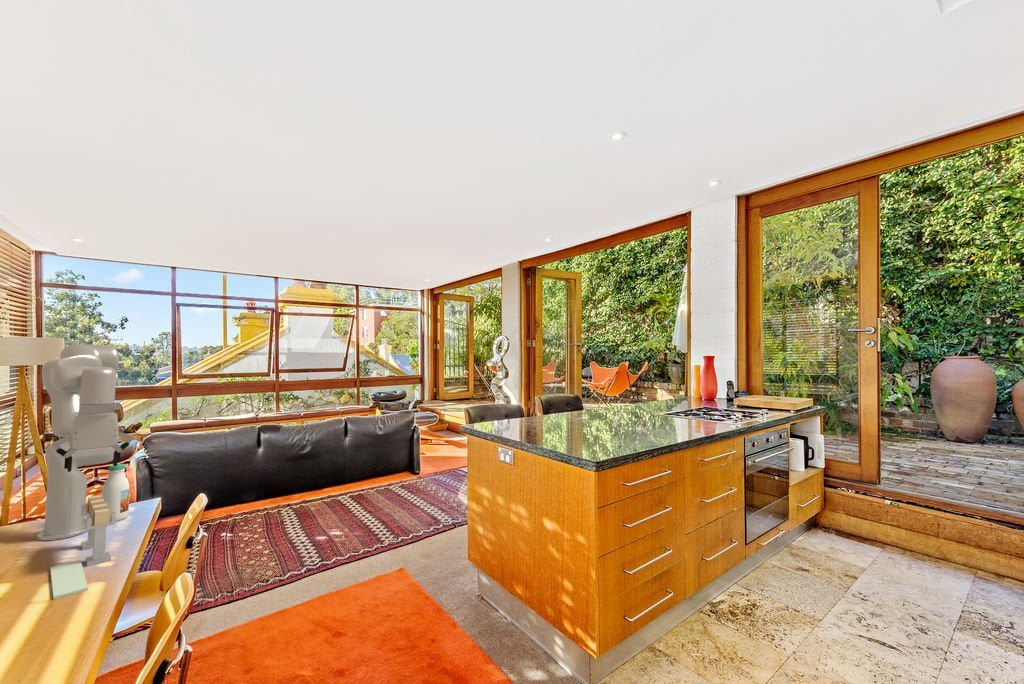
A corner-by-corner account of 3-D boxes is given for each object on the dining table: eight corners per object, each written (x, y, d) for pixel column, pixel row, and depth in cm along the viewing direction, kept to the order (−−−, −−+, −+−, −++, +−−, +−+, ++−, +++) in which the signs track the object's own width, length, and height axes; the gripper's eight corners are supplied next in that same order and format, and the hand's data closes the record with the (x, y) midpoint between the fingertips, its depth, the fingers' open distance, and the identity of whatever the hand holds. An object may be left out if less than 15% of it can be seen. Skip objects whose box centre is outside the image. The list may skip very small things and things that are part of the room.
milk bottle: (110, 523, 154) (114, 467, 155) (93, 522, 156) (97, 466, 157) (133, 516, 162) (136, 463, 163) (117, 515, 163) (120, 462, 164)
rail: (87, 509, 137) (88, 497, 138) (100, 507, 140) (101, 495, 140) (94, 527, 123) (95, 512, 123) (108, 524, 125) (109, 510, 125)
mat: (50, 569, 120) (50, 567, 120) (80, 562, 124) (80, 560, 124) (53, 599, 105) (53, 596, 105) (87, 589, 109) (87, 587, 109)
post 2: (83, 561, 125) (86, 515, 125) (111, 554, 129) (113, 510, 130) (84, 566, 121) (87, 519, 122) (113, 559, 126) (115, 514, 127)
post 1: (78, 546, 135) (81, 503, 136) (104, 540, 140) (107, 499, 140) (80, 550, 132) (82, 507, 133) (106, 544, 136) (109, 502, 137)
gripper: (133, 406, 135) (130, 461, 135) (53, 410, 123) (49, 470, 122) (137, 408, 130) (133, 465, 129) (54, 413, 118) (49, 476, 117)
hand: (92, 468), depth 126 cm, fingers open, 9 cm apart
